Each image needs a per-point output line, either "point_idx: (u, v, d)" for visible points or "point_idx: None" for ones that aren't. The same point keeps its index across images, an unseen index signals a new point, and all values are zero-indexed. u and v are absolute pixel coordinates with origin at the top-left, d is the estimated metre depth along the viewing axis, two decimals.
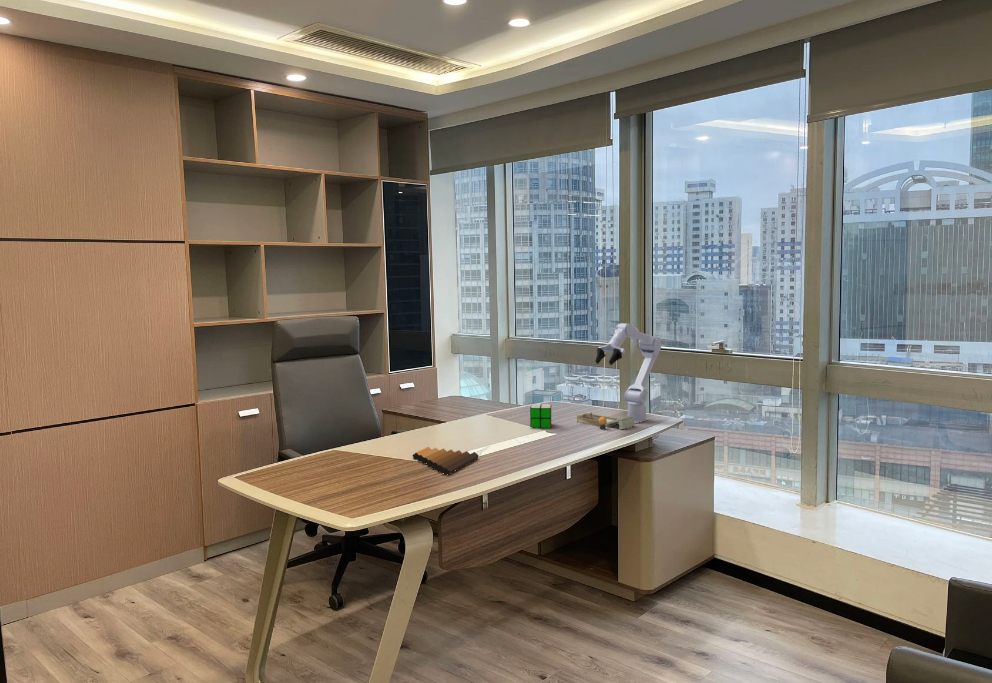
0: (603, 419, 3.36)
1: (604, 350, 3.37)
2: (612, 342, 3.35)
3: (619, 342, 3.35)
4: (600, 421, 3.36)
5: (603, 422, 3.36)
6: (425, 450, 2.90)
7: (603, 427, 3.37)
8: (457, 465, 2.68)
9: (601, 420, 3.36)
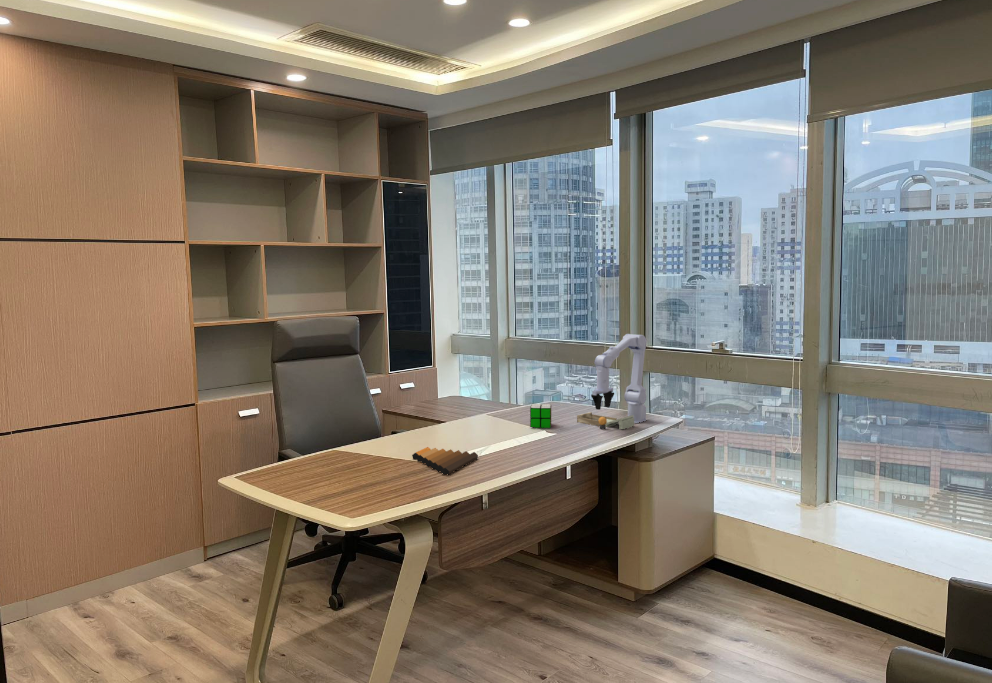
0: (603, 419, 3.36)
1: (606, 391, 3.39)
2: None
3: (598, 381, 3.34)
4: (600, 421, 3.36)
5: (603, 422, 3.36)
6: (425, 450, 2.90)
7: (603, 427, 3.37)
8: (457, 465, 2.68)
9: (601, 420, 3.36)
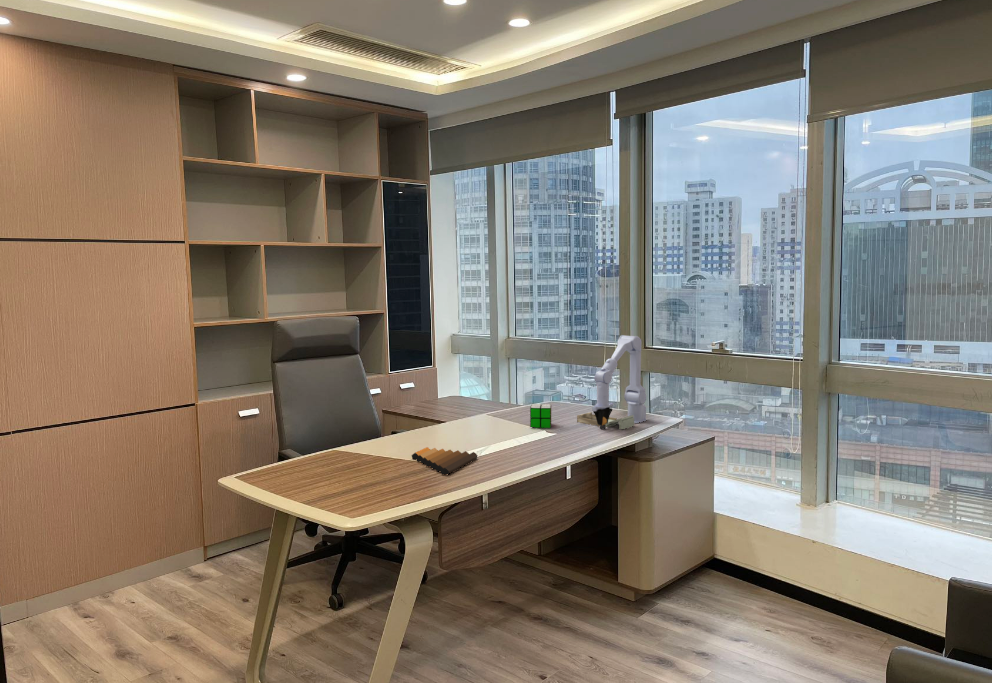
0: (603, 419, 3.36)
1: None
2: None
3: (598, 397, 3.35)
4: None
5: (603, 422, 3.36)
6: (424, 450, 2.90)
7: (603, 427, 3.37)
8: (456, 465, 2.68)
9: None
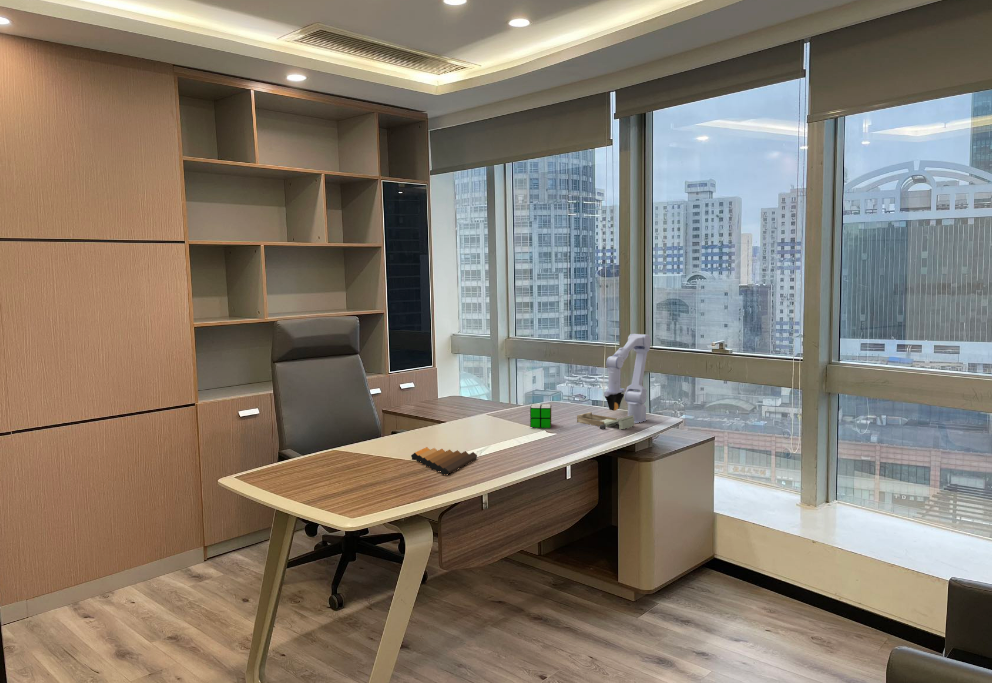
0: (615, 404, 3.37)
1: (617, 392, 3.40)
2: None
3: (609, 382, 3.36)
4: None
5: (615, 407, 3.36)
6: (423, 450, 2.90)
7: (603, 427, 3.37)
8: (456, 465, 2.68)
9: None
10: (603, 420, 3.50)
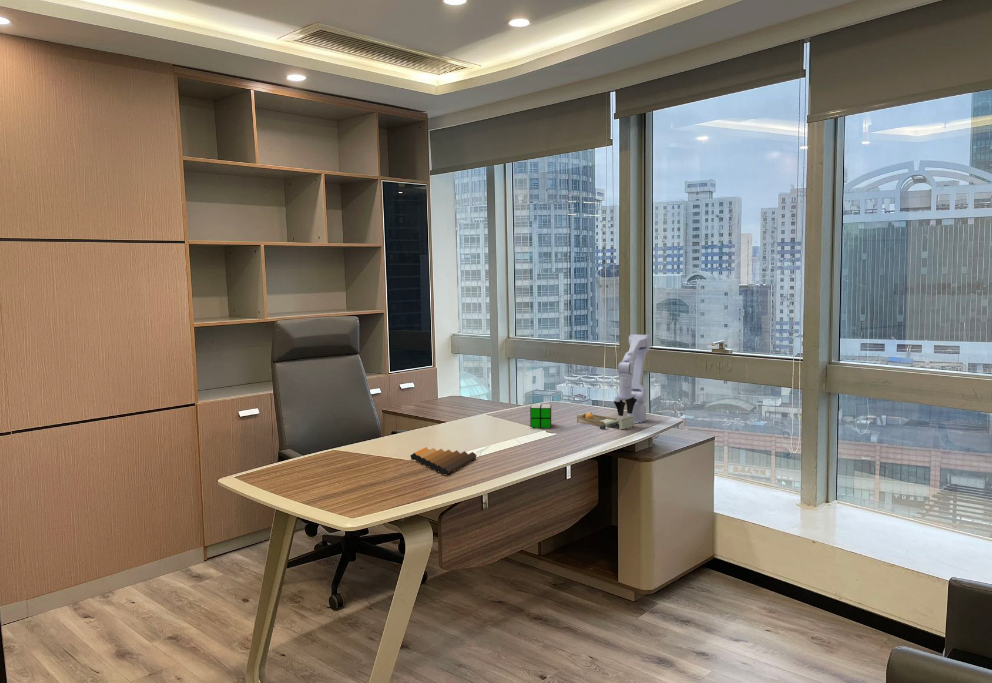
0: (590, 417, 3.53)
1: (628, 398, 3.41)
2: None
3: (620, 388, 3.37)
4: (587, 417, 3.53)
5: None
6: (423, 450, 2.89)
7: (603, 427, 3.37)
8: (456, 465, 2.68)
9: (588, 417, 3.53)
10: (603, 420, 3.50)
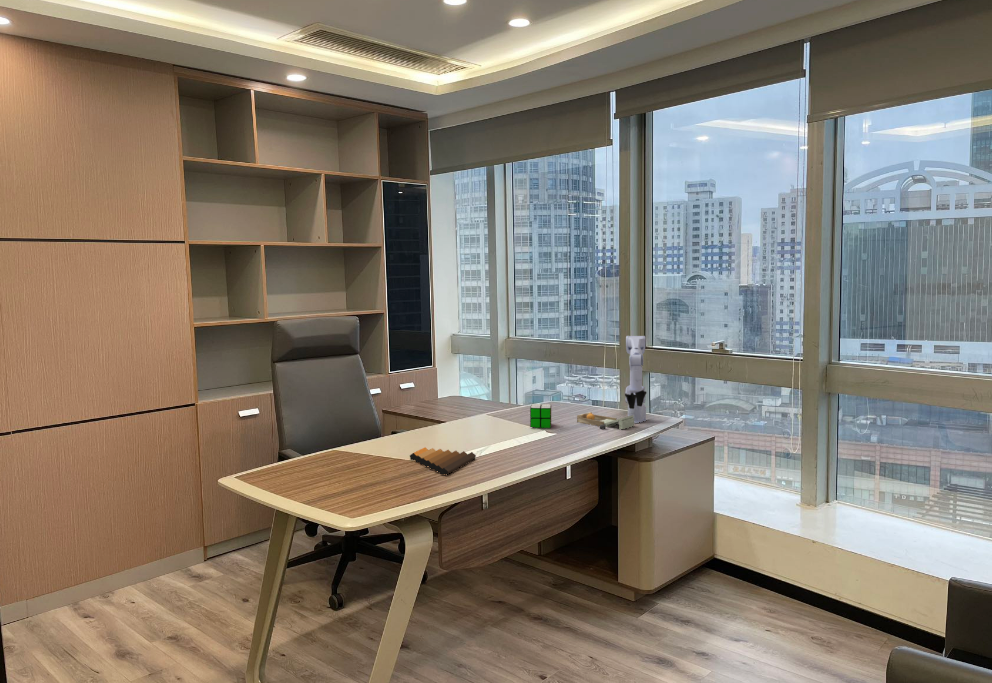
0: (592, 418, 3.52)
1: (638, 390, 3.41)
2: None
3: (631, 381, 3.37)
4: (588, 418, 3.53)
5: None
6: (422, 450, 2.89)
7: (603, 427, 3.37)
8: (455, 465, 2.68)
9: (590, 418, 3.52)
10: (603, 420, 3.50)
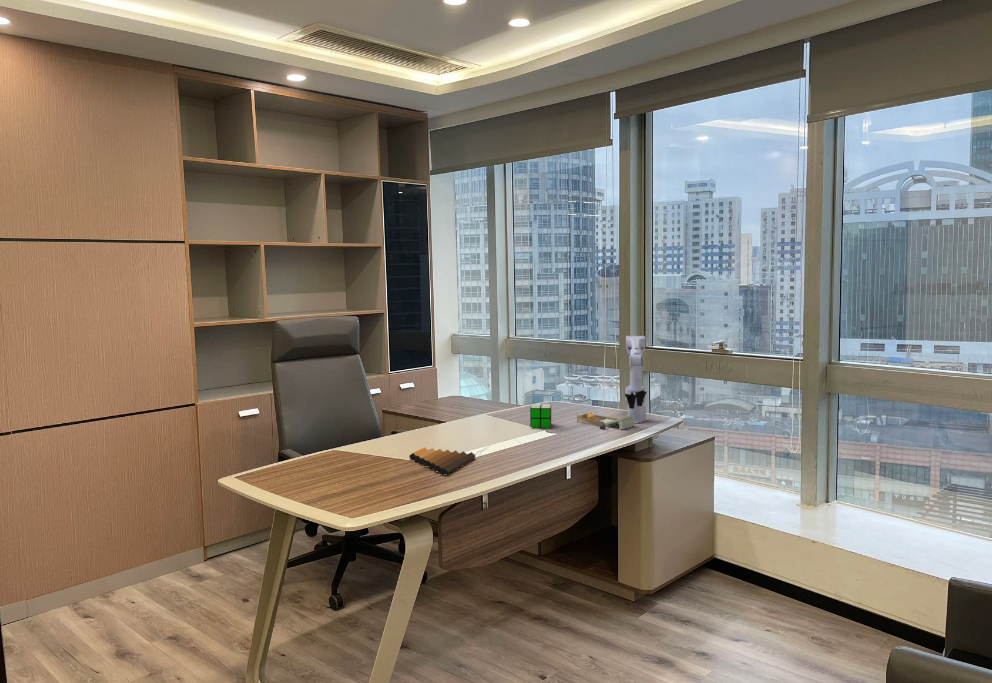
0: (592, 419, 3.52)
1: (638, 390, 3.41)
2: None
3: (631, 381, 3.37)
4: (589, 418, 3.52)
5: None
6: (421, 450, 2.89)
7: (603, 427, 3.37)
8: (455, 465, 2.68)
9: (590, 418, 3.52)
10: (603, 420, 3.50)
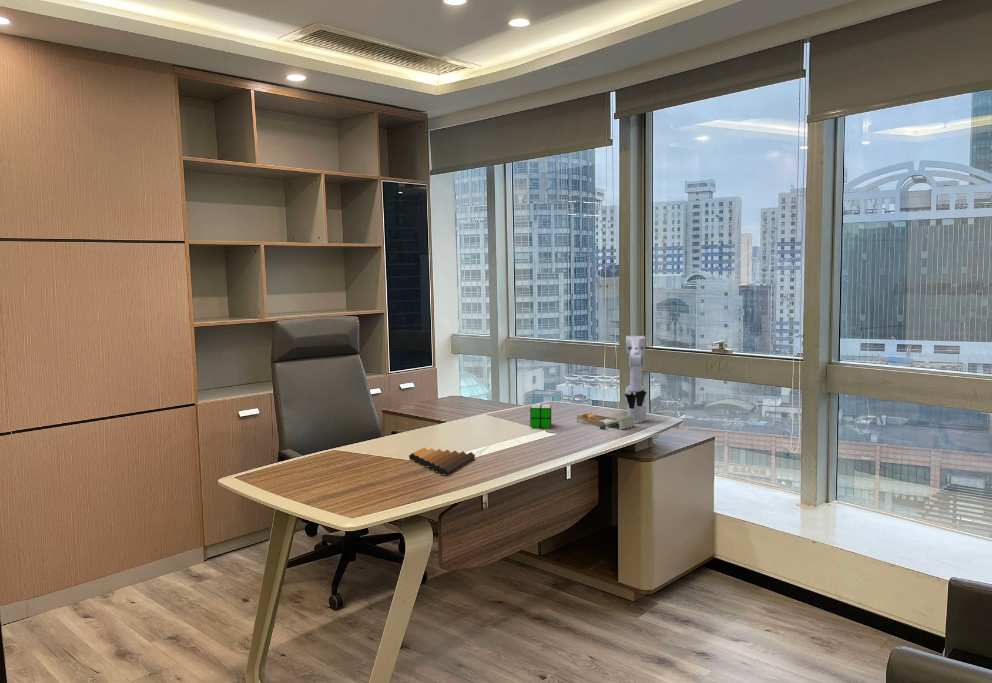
0: (592, 419, 3.52)
1: (638, 390, 3.41)
2: None
3: (631, 381, 3.37)
4: (589, 418, 3.52)
5: None
6: (421, 451, 2.89)
7: (603, 427, 3.37)
8: (455, 465, 2.68)
9: None
10: (603, 420, 3.50)
